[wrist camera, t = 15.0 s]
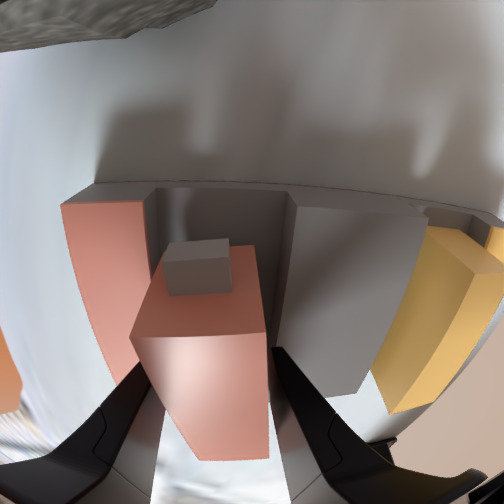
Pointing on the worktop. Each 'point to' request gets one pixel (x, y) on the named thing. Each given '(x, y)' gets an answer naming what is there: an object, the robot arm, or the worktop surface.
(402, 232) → the slot rack
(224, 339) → the brick plug
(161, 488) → the worktop surface
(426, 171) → the worktop surface
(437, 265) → the ochre plug
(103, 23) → the mortar and pestle
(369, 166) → the worktop surface
